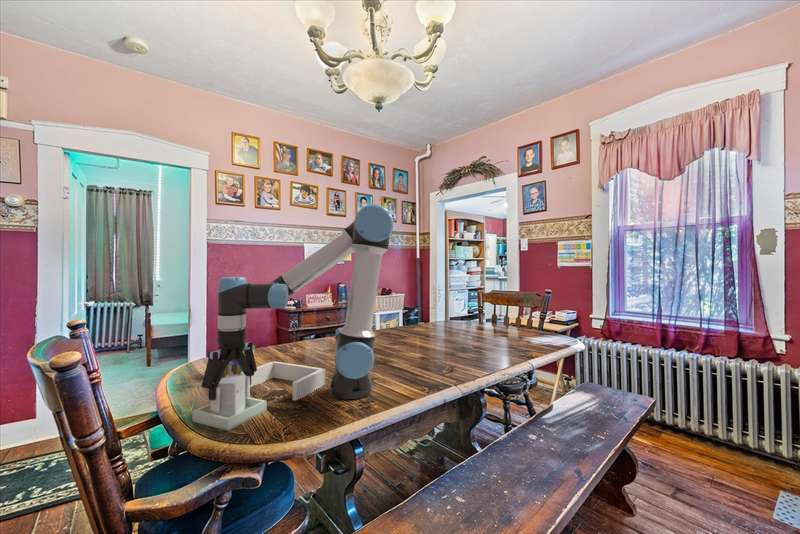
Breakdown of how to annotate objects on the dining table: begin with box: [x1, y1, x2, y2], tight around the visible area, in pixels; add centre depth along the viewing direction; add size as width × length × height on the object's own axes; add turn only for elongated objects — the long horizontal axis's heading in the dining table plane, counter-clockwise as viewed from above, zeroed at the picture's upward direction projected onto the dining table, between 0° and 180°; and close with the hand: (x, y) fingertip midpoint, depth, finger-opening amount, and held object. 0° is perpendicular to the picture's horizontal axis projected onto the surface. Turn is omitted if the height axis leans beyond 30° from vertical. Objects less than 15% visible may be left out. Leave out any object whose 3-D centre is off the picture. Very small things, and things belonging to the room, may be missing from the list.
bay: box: [240, 360, 326, 402], centre depth 123 cm, size 25×16×6 cm, turn 68°
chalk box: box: [222, 344, 256, 378], centre depth 137 cm, size 9×9×15 cm
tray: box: [191, 396, 268, 432], centre depth 99 cm, size 14×14×3 cm
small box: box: [216, 374, 246, 418], centre depth 99 cm, size 8×6×10 cm
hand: (231, 403), depth 99 cm, fingers open, 10 cm apart
